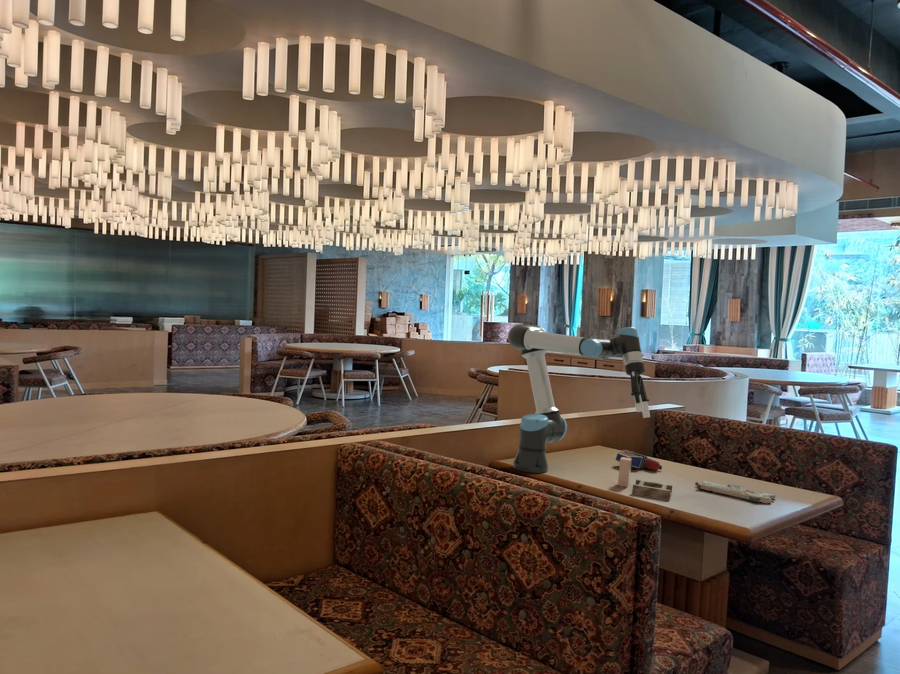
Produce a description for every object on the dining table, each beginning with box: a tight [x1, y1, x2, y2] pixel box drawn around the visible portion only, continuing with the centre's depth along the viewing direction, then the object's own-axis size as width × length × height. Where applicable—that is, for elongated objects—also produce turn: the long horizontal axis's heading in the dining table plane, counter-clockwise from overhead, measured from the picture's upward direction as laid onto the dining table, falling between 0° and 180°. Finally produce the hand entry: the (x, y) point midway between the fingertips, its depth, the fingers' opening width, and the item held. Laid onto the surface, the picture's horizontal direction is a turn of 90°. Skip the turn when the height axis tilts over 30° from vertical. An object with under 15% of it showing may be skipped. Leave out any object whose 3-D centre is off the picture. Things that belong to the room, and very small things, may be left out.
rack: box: [631, 479, 673, 501], centre depth 267 cm, size 14×12×4 cm
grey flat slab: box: [694, 480, 776, 504], centre depth 280 cm, size 30×3×20 cm
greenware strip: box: [617, 457, 632, 488], centre depth 278 cm, size 4×5×11 cm
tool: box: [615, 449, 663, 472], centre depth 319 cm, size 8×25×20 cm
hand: (643, 414), depth 270 cm, fingers open, 13 cm apart
